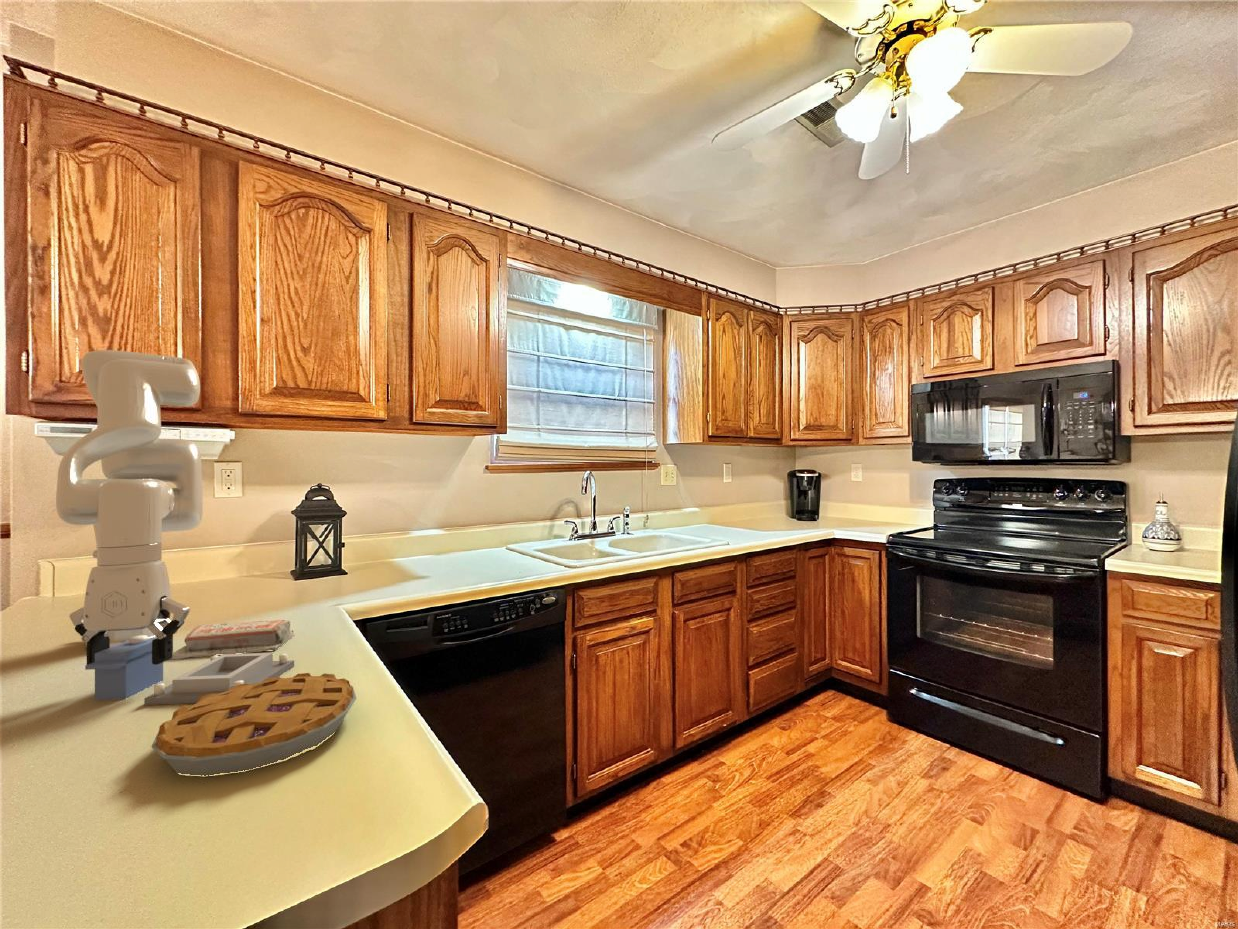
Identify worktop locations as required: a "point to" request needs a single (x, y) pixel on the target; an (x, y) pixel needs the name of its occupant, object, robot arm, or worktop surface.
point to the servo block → (125, 669)
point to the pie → (254, 724)
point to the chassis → (219, 677)
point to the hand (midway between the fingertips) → (130, 663)
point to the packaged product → (235, 638)
